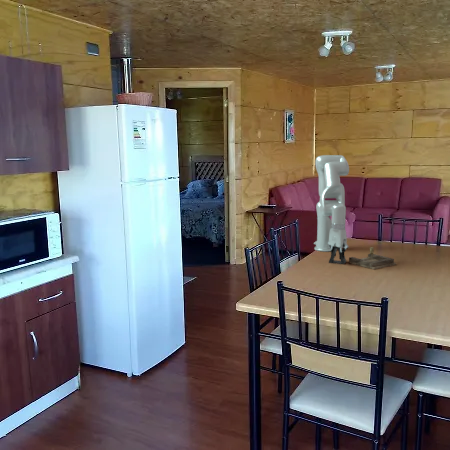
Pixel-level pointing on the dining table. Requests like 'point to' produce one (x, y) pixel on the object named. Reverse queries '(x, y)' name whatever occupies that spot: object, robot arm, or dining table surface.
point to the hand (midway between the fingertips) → (337, 257)
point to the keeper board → (373, 261)
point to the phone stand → (334, 256)
